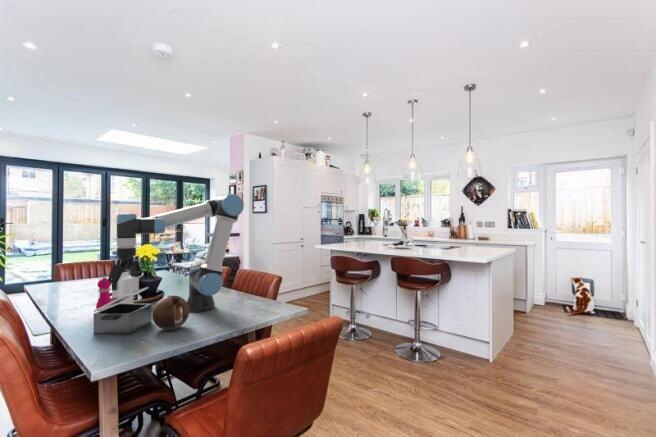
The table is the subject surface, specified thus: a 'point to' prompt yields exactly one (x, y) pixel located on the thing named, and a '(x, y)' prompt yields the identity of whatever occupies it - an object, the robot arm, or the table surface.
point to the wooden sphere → (170, 312)
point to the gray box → (122, 319)
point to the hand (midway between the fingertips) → (126, 294)
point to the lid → (120, 299)
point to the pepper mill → (104, 293)
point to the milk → (125, 287)
